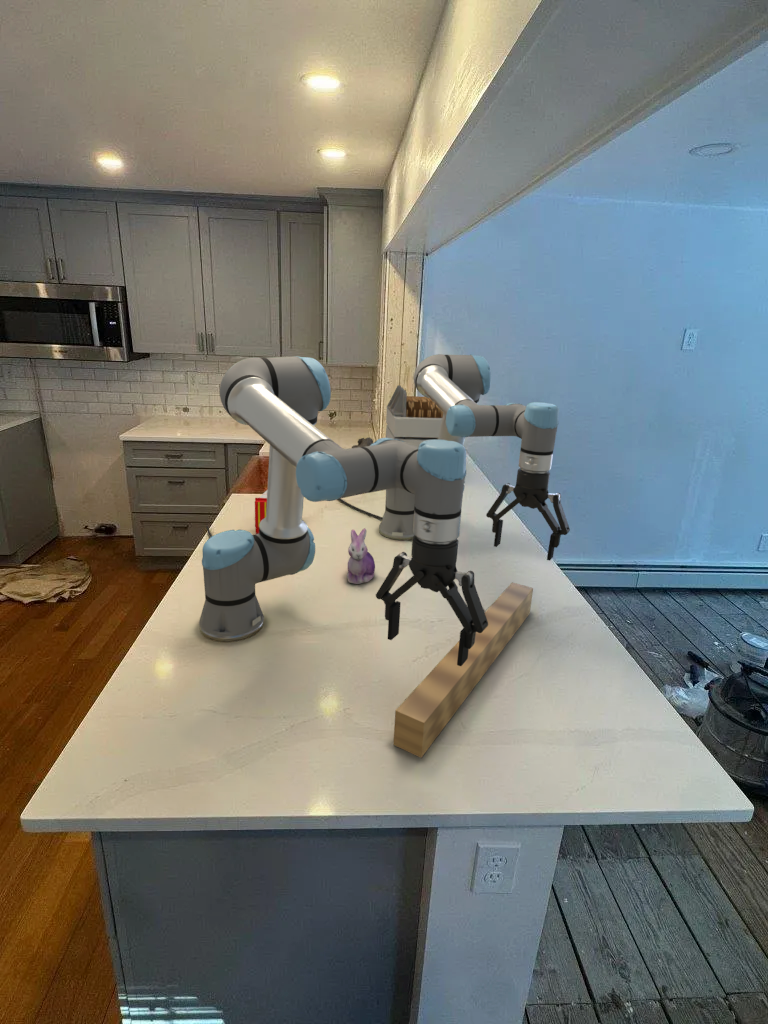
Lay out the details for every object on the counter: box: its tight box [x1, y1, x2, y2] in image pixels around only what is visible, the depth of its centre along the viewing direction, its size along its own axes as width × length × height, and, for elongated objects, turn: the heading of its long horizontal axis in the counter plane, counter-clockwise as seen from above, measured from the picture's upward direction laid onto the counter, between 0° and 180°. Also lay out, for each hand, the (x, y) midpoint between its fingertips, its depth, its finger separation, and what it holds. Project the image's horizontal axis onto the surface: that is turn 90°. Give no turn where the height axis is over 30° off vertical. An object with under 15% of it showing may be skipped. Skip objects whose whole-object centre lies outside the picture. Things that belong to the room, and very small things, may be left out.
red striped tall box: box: [254, 489, 267, 534], centre depth 202 cm, size 12×13×30 cm
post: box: [393, 581, 534, 759], centre depth 126 cm, size 62×6×8 cm, turn 149°
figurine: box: [346, 527, 376, 585], centre depth 163 cm, size 9×10×15 cm
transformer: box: [385, 384, 443, 447], centre depth 268 cm, size 34×33×41 cm
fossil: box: [351, 436, 374, 448], centre depth 297 cm, size 22×10×15 cm
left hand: (426, 648), depth 99 cm, fingers open, 13 cm apart
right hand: (522, 551), depth 141 cm, fingers open, 13 cm apart
